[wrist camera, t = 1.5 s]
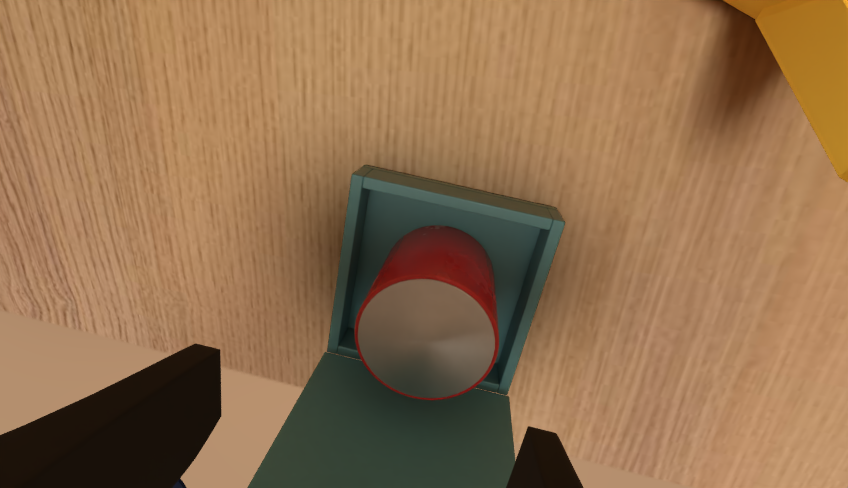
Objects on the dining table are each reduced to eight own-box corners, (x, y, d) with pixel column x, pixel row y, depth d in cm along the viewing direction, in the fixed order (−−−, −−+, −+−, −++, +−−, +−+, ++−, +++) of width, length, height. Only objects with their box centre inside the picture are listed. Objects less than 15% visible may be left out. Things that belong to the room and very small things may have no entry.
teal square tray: (364, 164, 20) (351, 173, 18) (556, 207, 19) (566, 222, 17) (340, 328, 23) (326, 352, 21) (504, 367, 22) (507, 396, 20)
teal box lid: (208, 554, 12) (208, 568, 12) (533, 640, 11) (527, 653, 11) (324, 351, 20) (323, 361, 21) (509, 396, 20) (506, 406, 20)
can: (496, 323, 21) (502, 402, 16) (391, 326, 22) (364, 401, 17) (491, 221, 19) (496, 271, 14) (377, 228, 20) (343, 278, 15)
